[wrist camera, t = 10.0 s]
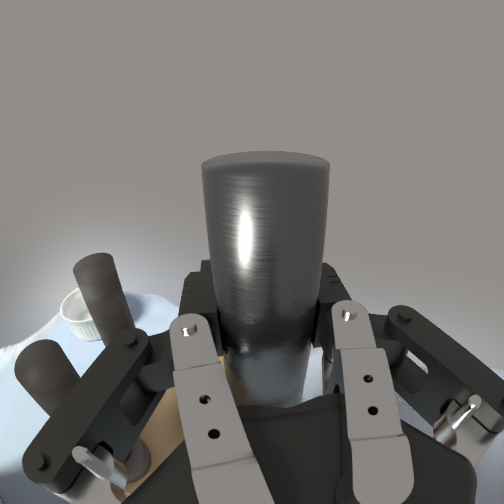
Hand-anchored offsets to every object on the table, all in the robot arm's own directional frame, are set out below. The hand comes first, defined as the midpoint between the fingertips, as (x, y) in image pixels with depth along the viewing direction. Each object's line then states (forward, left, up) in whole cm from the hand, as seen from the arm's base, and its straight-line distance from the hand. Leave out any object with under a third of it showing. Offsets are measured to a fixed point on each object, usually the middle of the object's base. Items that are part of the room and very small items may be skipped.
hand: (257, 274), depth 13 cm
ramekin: (-22, +18, -20) cm, 34 cm away
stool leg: (0, -3, -8) cm, 9 cm away
